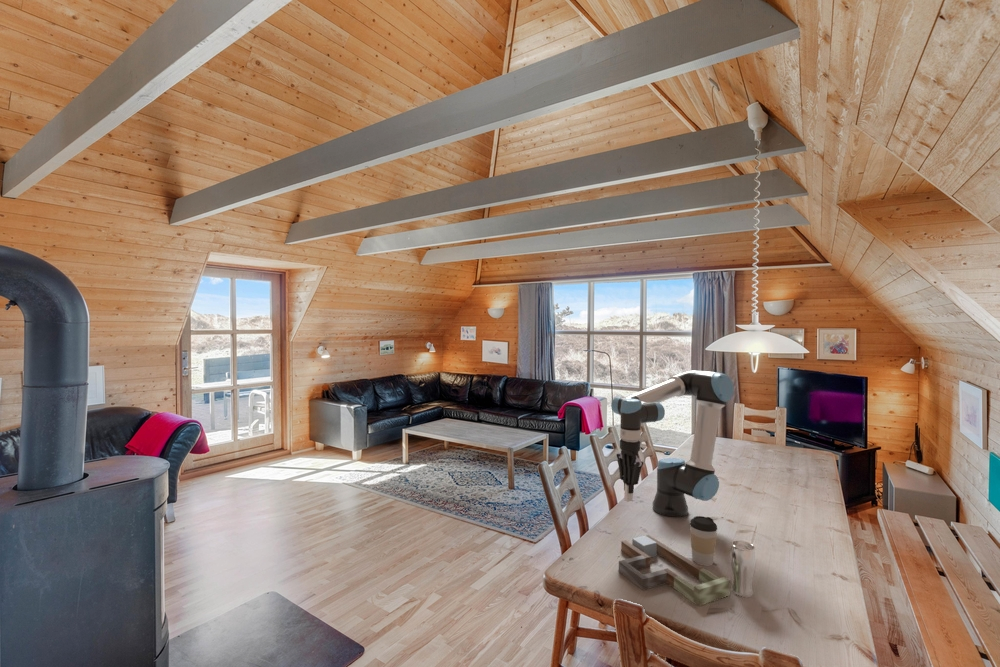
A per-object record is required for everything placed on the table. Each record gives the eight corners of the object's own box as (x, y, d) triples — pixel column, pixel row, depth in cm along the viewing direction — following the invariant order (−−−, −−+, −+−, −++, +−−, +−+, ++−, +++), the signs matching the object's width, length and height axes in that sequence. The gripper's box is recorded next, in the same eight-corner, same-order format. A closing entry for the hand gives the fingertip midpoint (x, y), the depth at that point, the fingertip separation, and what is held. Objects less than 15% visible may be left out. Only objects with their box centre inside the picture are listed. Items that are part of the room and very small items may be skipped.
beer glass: (746, 585, 149) (747, 539, 149) (759, 598, 142) (760, 550, 142) (725, 585, 149) (726, 539, 149) (737, 598, 142) (738, 550, 142)
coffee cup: (700, 568, 159) (701, 525, 159) (683, 555, 168) (684, 515, 167) (722, 565, 162) (723, 523, 161) (704, 552, 170) (705, 512, 170)
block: (644, 548, 173) (645, 535, 173) (656, 556, 168) (656, 542, 167) (632, 551, 171) (632, 538, 170) (643, 559, 165) (643, 545, 165)
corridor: (648, 544, 176) (648, 531, 176) (729, 595, 143) (730, 580, 143) (599, 555, 167) (599, 542, 167) (673, 614, 134) (674, 597, 134)
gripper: (611, 436, 180) (609, 495, 181) (633, 444, 169) (632, 508, 169) (626, 434, 184) (625, 493, 184) (649, 442, 172) (647, 505, 172)
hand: (628, 500), depth 177 cm, fingers closed
